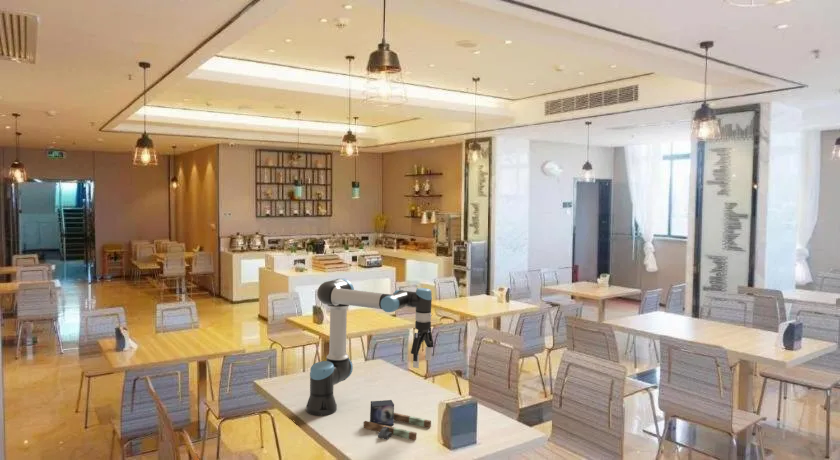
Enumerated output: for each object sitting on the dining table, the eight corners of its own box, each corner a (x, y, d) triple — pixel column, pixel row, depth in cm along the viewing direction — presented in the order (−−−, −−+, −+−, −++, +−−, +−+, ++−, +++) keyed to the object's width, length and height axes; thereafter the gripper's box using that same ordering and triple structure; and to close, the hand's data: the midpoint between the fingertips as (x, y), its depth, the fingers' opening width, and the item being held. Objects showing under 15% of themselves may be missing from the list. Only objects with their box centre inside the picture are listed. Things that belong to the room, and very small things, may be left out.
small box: (372, 427, 272) (372, 405, 272) (369, 422, 279) (370, 400, 278) (394, 425, 275) (394, 404, 274) (391, 420, 281) (391, 399, 281)
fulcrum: (377, 437, 262) (377, 428, 261) (382, 434, 265) (382, 425, 265) (387, 439, 260) (387, 431, 259) (391, 436, 263) (391, 427, 263)
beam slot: (363, 428, 271) (363, 421, 271) (381, 415, 287) (381, 409, 286) (414, 440, 260) (415, 433, 259) (430, 426, 275) (431, 420, 275)
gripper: (418, 326, 266) (417, 372, 268) (440, 316, 289) (439, 358, 290) (404, 324, 270) (403, 369, 271) (427, 314, 292) (426, 356, 293)
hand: (422, 363), depth 281 cm, fingers open, 13 cm apart
